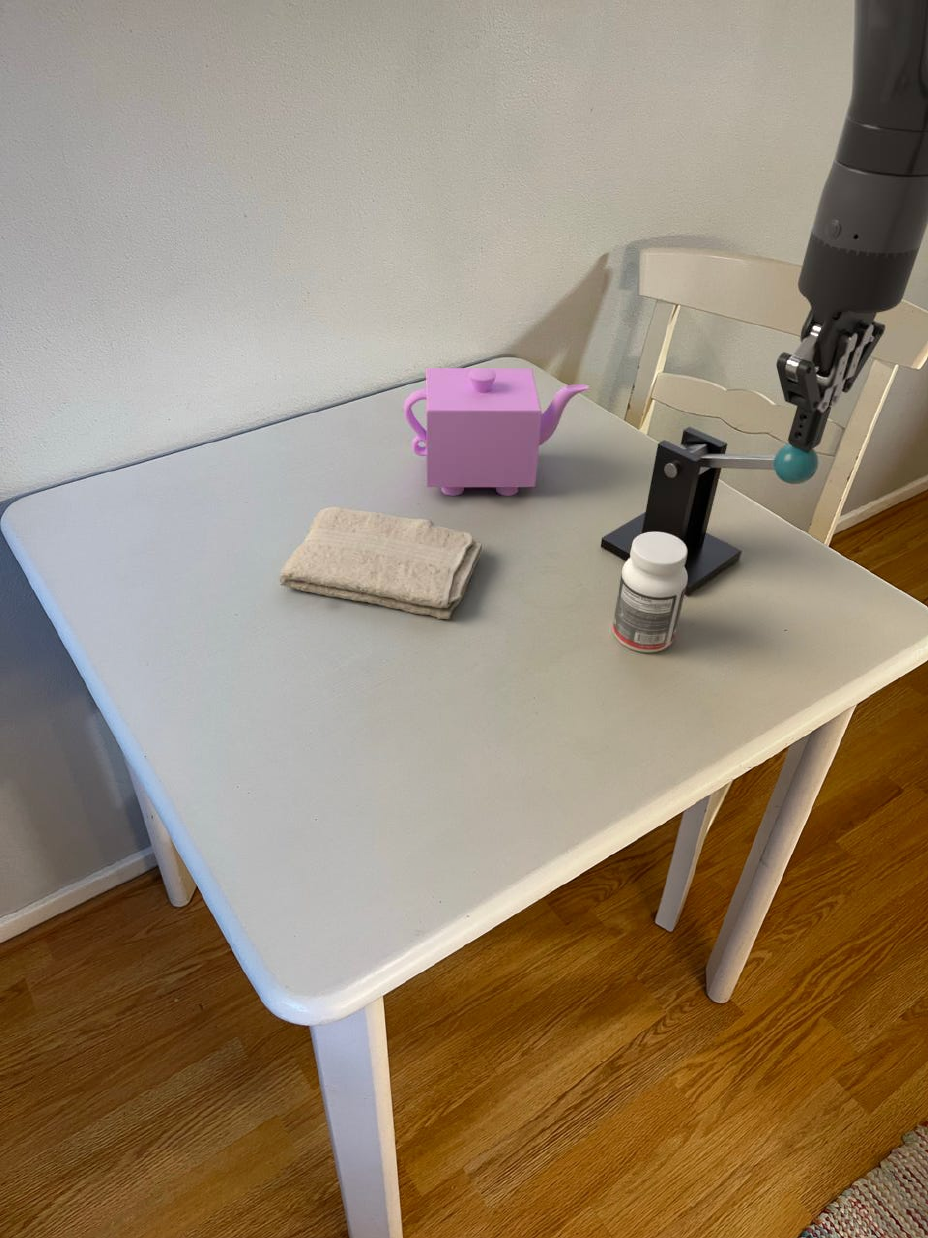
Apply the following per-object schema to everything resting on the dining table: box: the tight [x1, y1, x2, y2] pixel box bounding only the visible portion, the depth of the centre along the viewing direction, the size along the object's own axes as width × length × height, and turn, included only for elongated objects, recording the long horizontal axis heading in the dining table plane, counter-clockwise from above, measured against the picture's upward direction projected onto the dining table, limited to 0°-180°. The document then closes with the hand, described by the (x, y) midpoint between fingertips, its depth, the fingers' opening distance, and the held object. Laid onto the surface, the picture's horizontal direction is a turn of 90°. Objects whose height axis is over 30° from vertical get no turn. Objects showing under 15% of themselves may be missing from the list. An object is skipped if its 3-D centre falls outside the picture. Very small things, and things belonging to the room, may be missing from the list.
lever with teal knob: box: [677, 442, 819, 485], centre depth 81 cm, size 14×4×4 cm, turn 43°
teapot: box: [403, 367, 590, 497], centre depth 99 cm, size 20×10×12 cm, turn 92°
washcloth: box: [278, 506, 483, 620], centre depth 88 cm, size 12×18×3 cm, turn 76°
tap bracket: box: [600, 426, 742, 597], centre depth 88 cm, size 11×9×13 cm
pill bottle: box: [612, 532, 688, 653], centre depth 79 cm, size 6×6×10 cm
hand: (802, 444), depth 76 cm, fingers closed
